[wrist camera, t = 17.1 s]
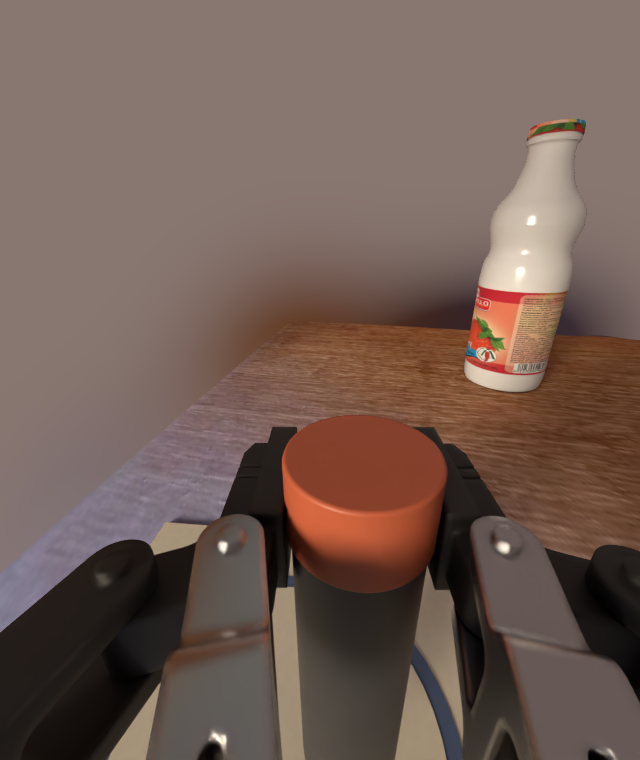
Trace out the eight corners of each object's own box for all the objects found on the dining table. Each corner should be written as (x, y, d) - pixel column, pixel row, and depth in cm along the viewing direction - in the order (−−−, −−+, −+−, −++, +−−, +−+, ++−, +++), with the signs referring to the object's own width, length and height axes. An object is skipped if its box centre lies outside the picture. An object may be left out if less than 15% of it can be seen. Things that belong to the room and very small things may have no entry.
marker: (292, 805, 10) (263, 506, 6) (307, 674, 14) (296, 410, 9) (403, 822, 10) (471, 521, 5) (393, 684, 13) (430, 416, 8)
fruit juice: (544, 400, 40) (631, 103, 28) (459, 385, 43) (505, 119, 32) (537, 372, 47) (602, 130, 36) (465, 362, 51) (504, 140, 40)
